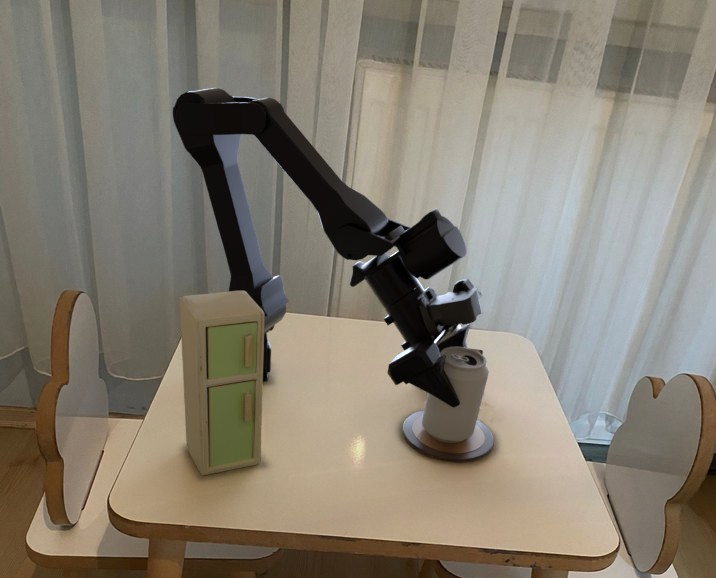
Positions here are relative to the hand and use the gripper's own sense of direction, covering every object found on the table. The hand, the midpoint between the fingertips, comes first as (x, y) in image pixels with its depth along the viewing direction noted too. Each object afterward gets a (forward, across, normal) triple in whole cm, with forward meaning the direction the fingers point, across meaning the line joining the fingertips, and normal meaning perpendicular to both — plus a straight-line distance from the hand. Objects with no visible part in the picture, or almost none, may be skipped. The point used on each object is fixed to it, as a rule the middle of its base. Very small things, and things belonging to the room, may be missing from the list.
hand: (465, 393), depth 97 cm
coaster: (+4, 0, +6) cm, 7 cm away
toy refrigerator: (-12, -21, +23) cm, 34 cm away
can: (+4, 0, +6) cm, 7 cm away
